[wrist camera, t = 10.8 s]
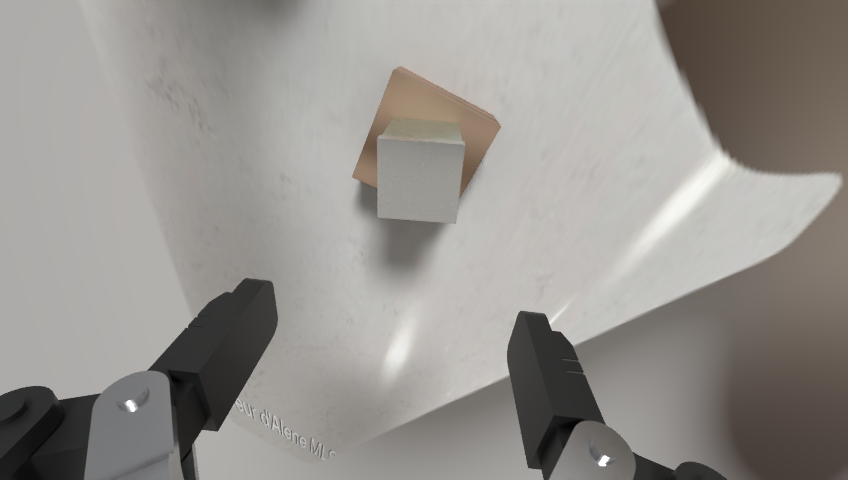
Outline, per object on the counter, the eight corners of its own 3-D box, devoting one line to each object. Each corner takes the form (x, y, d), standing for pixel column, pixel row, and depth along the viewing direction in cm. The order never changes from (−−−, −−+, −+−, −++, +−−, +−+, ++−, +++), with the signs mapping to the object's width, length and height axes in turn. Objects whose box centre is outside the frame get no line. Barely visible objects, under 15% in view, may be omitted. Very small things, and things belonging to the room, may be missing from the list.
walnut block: (400, 65, 29) (393, 70, 25) (493, 114, 31) (501, 126, 26) (363, 159, 33) (351, 177, 29) (446, 198, 35) (446, 220, 31)
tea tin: (392, 116, 26) (377, 138, 20) (459, 121, 26) (465, 144, 20) (391, 180, 29) (377, 217, 23) (452, 185, 29) (455, 223, 23)
